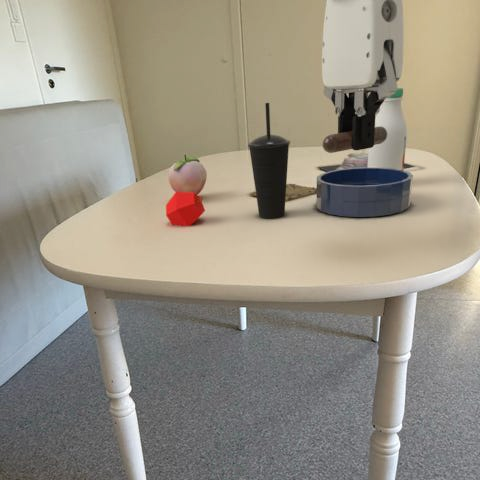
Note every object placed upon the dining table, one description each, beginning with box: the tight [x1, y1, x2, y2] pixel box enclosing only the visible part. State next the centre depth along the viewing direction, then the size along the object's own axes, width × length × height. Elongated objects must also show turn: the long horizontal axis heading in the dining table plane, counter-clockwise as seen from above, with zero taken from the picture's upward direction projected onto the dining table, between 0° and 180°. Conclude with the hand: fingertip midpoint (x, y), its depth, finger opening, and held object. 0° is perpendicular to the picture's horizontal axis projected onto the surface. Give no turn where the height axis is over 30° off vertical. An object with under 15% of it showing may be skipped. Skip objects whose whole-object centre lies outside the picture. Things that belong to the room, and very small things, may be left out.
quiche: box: [317, 152, 416, 173], centre depth 120 cm, size 21×20×4 cm
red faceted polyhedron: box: [165, 192, 206, 227], centre depth 85 cm, size 7×7×8 cm
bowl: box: [316, 167, 414, 218], centre depth 86 cm, size 18×18×6 cm
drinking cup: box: [247, 102, 291, 220], centre depth 81 cm, size 8×8×20 cm
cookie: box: [249, 183, 317, 203], centre depth 102 cm, size 12×12×1 cm
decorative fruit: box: [167, 154, 208, 196], centre depth 102 cm, size 9×8×10 cm
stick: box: [322, 126, 387, 154], centre depth 59 cm, size 10×2×2 cm, turn 118°
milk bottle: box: [367, 87, 408, 171], centre depth 97 cm, size 8×8×20 cm
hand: (355, 146), depth 59 cm, fingers closed on stick, 2 cm apart
